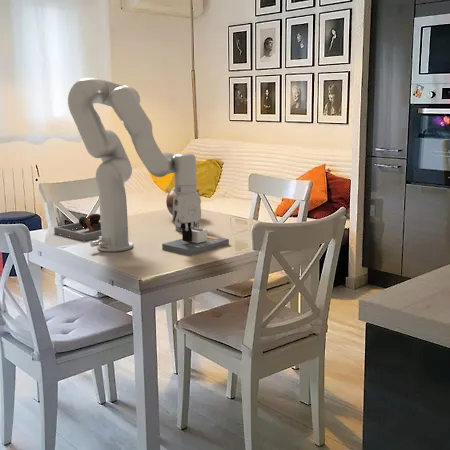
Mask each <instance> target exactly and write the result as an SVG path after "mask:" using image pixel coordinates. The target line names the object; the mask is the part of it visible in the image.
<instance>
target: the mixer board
mask: <svg viewBox="0 0 450 450" xmlns="http://www.w3.org/2000/svg"><path fill="white" fill-rule="evenodd" d="M228 245H230V239H229V238H225V237H219V236H214V235H212V234H211V235H210V234H207V241H204V242H200V243H194V242H190V241H189V242H187V241H183V240H182V238H179V239H176V240H172V241H168V242H164V243H162V244H161V247H162V248H161V249H162V251H163V250H164V251H169V252H172V253H178V254H180V255H186V256H188V257H189V256H190V257H192V256H196V255H198V254H201V253H205V252H209V251H212V250H215V249H218V248H222V247H225V246H228Z"/></svg>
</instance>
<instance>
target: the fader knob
mask: <svg viewBox="0 0 450 450" xmlns="http://www.w3.org/2000/svg"><path fill="white" fill-rule="evenodd" d="M207 235H208V229H206V228H200V227H199V228H196V227H193V230H192V241H190V242H194V243H200V242H204V241H207Z"/></svg>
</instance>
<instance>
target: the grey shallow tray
mask: <svg viewBox="0 0 450 450" xmlns="http://www.w3.org/2000/svg"><path fill="white" fill-rule="evenodd" d="M99 223H100V224H101V222H100V221H99ZM76 228H81V229H83V228H82V226H81V225H80V223H79V221H78V222H74V223H69V224H64V225H60V226H54V228H53V231H54V234H55V233H57V234H56V235H59V234H61V235H60V236H63V235H66V236H65V237H67V236H70V237H69V238H71V237H73V238H72V239H75V238H76V239H75V240H79V239H80V240H79V241H83V240H84V241H83V242H86V240H87V241H90V239H92V240H95V239H99V237H100V236H101V230H99V231H95V232H91V233H89V232H87V233H83V232H80V231H76V230H77V229H76ZM72 229H76V230H72ZM71 230H72V231H71Z"/></svg>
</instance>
